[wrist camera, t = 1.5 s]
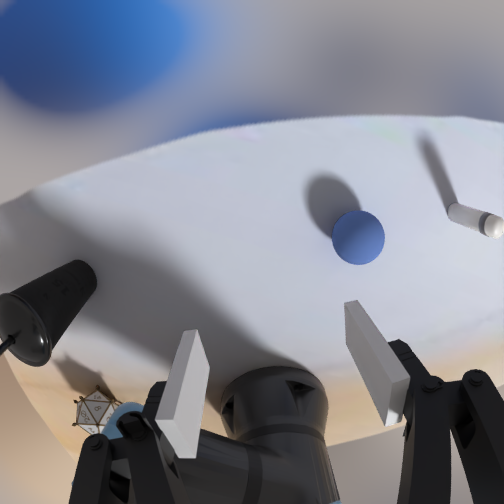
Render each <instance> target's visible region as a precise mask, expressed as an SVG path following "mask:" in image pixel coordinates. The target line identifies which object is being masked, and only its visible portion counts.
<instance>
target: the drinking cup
mask: <svg viewBox="0 0 504 504" xmlns="http://www.w3.org/2000/svg"><path fill="white" fill-rule="evenodd" d="M96 285H97V279H96V275H95V273H94V271H93V269H92V268H91V267H90V266H89V265H88V264H87V263H85V262H84V261H81V260H74V261H72V262H70V263H68V264H65V265H63V266H61V267H59V268H57V269H55V270H53V271H51V272H49V273H47V274H45V275H43V276H41V277H39V278H37V279H35V280H33V281H31V282H29V283H27V284H26V285H24V286H22V287H20V288H18V289H16V290H14V291H12V292H10V293H3V294H1V295H0V338H1V340H2V342H3V343H2V344H1V345H0V356H1V355H2V354H3V353H4V352H5V351H6V350H7V349H8V350H9V351H10V352H11V353H12V354H13V355H14V356H15V357H16V358H18V359H19V360H20V361H22V362H24V363H25V364H28V365H30V366H34V367H40V366H43V365H45V364H46V363H47V362H48V361H49V359H50V357H51V353H52V350H53V348H54V347H55V345H56V344H57V342H58V341H59V339H60V338H61V336H62V335H63V333H64V332H65V331H66V329H67V328H68V326H69V325H70V323H71V322H72V321H73V319H74V318H75V316H76V315H77V314H78V312H79V311H80V310H81V308H82V307H83V306H84V304H85V303H86V301H87V300H88V299H89V297H90V296H91V295H92V294H93V292H94V291H95V289H96Z"/></svg>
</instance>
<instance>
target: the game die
mask: <svg viewBox="0 0 504 504" xmlns="http://www.w3.org/2000/svg"><path fill="white" fill-rule="evenodd" d="M96 389H97V390H96V391H94V392H93V393H91V394H90V395H88V396H87V397H85V398H83V397H82V396H79V398H80V399H81V400H80V401H79V402H77V401H76V400H73V401H74V403H77V417H76V423H73V424H72V426H76V425H78V426H80V427H81V428H83V429H84V430H85V431H87V432H88V433H90V434H91V435H92V434H96V433H101V432H102V430H103V428H104V427H105V425H106V423H107V422H108V420H109V419H110V417H111V415H112V414H113V412H114V411H115V409H116V408H117V407H118V406H119V405H118V404H116V403H115V402H114V399H110V398H108V397H107V396H106V395H104V394H103V393H102V392H100V391H99V386H98V385H97V386H96Z"/></svg>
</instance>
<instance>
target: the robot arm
mask: <svg viewBox="0 0 504 504" xmlns="http://www.w3.org/2000/svg"><path fill="white" fill-rule="evenodd" d="M344 308H345V330H346V345H347V347H348V349H349V351H350V353H351V355H352V357H353V359H354V361H355V363H356V365H357V367H358V370H359V372H360V374H361V376H362V378H363V380H364V382H365V384H366V386H367V389H368V391H369V393H370V395H371V397H372V399H373V402H374V404H375V406H376V408H377V410H378V413H379V415H380V417H381V419H382V421H383V424H384V426H385V427H387V426H390V425H393V424H396V423H399V422H401V420H402V416H403V414H404V416H405V418H406V420H407V423H406V426H405V430H404V433H403V436H405V442H404V453H403V463H402V473H401V481H400V487H399V494H398V500H397V504H450V496H451V439H450V429H451V432H452V435H453V438H454V440H455V443H456V446H457V449H458V452H459V455H460V458H461V461H462V464H463V468H464V471H465V474H466V478H467V481H468V484H469V488H470V492H471V495H472V499H473V503H474V504H504V401H503V399H502V397H501V395H500V394H499V392H498V390H497V389H496V387H495V385H494V384H493V382H492V380H491V379H490V377H489V376H488V374H487V373H486V372H484V371H482V370H477V369H474V370H470V371H468V372H466V373H465V374H464V375H463V378H462V380H459V381H452V382H444V381H443V380H442V379H441V378H439V377H437V376H431V375H430V374H429V372H428V371H427V370H426V368H425V367H424V366H423V364H422V363H421V362H420V360H419V359H418V358H417V357H416V355H415V354H414V352H412V350H411V348H410V347H409V346H408V344H406V343H405V342H403V341H401V340H399V339H398V340H395V341H391V342H388V343H387V341H386V340H385V338H384V337H383V336H382V334H381V333H380V331H379V330H378V328H377V327H376V326H375V324H374V323H373V321H372V320H371V318H370V317H369V316H368V314H367V313H366V311H365V310H364V309H363V307H362V306H361V304H360V303H359V302H358V300H355V301H351V302H347V303H344ZM209 369H210V366H209V364H208V361H207V358H206V355H205V352H204V349H203V346H202V343H201V340H200V337H199V333H198V330H197V329H194V330H186V331H184V332H183V335H182V338H181V341H180V344H179V347H178V350H177V353H176V356H175V359H174V362H173V365H172V368H171V371H170V374H169V377H168V380H167V381H161V382H156V383H155V384H154V385H153V387H152V388H151V389H150V391H149V394H148V398H147V399H146V402H145V403H146V404H145V405H144V406H143V405H141V404H139V403H135V402H126V403H123V404H121V405H119V406H118V407H117V408H116V409H115V411H114V412H113V414H112V415H111V417H110V419H109V420H108V422H107V423H106V425H105V427H104V428H103V430H102V432H101V433H96V434H92V435H90V436H89V437H88V438H86V439H85V441H84V443H83V446H82V449H81V453H80V457H79V461H78V465H77V469H76V473H75V477H74V480H73V482H72V490H71V495H70V499H69V504H341V501H340V498H339V494H338V490H337V486H336V482H335V479H334V474H333V471H332V467H331V463H330V459H329V455H328V452H327V448H326V444H325V440H324V433H325V427H326V421H327V415H328V399H327V396H326V393H325V389H324V387H323V385H322V384H321V382H320V381H319V380H318V379H317V378H316V377H314V376H313V375H311V374H310V373H308V372H305V371H303V370H300V369H296V368H291V367H267V368H262V369H258V370H254V371H251V372H249V373H246V374H244V375H242V376H240V377H239V378H237V379H236V380H234V381H233V382H232V383H231V384H230V385H229V386H228V387H227V389H226V390H225V392H224V394H223V396H222V401H221V419H222V422H223V425H224V428H225V431H226V433H227V436H228V438H227V437H224V436H221V435H218V434H215V433H212V432H210V431H207V430H204V429H201V428H200V426H201V420H202V413H203V407H204V401H205V394H206V388H207V382H208V376H209Z"/></svg>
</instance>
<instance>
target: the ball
mask: <svg viewBox="0 0 504 504" xmlns="http://www.w3.org/2000/svg"><path fill="white" fill-rule="evenodd" d="M384 240H385V234H384V230H383V227H382V225H381V223H380V222H379V220H378V219H377V218H376V217H375V216H373V215H372V214H370V213H368V212H365V211H361V210H356V211H351V212H348V213H346V214H344V215H343V216H342V217H340V218H339V219H338V221H337V222H336V224H335V226H334V228H333V232H332V242H333V246H334V249H335V251H336V253H337V254H338V255H339V256H340V257H341V258H342V259H343V260H344V261H346V262H348V263H351V264H355V265H362V264H366V263H369V262H371V261H373V260H374V259H375V258H376V257H377V256H378V255H379V254H380V252H381V251H382V249H383V246H384Z"/></svg>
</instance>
